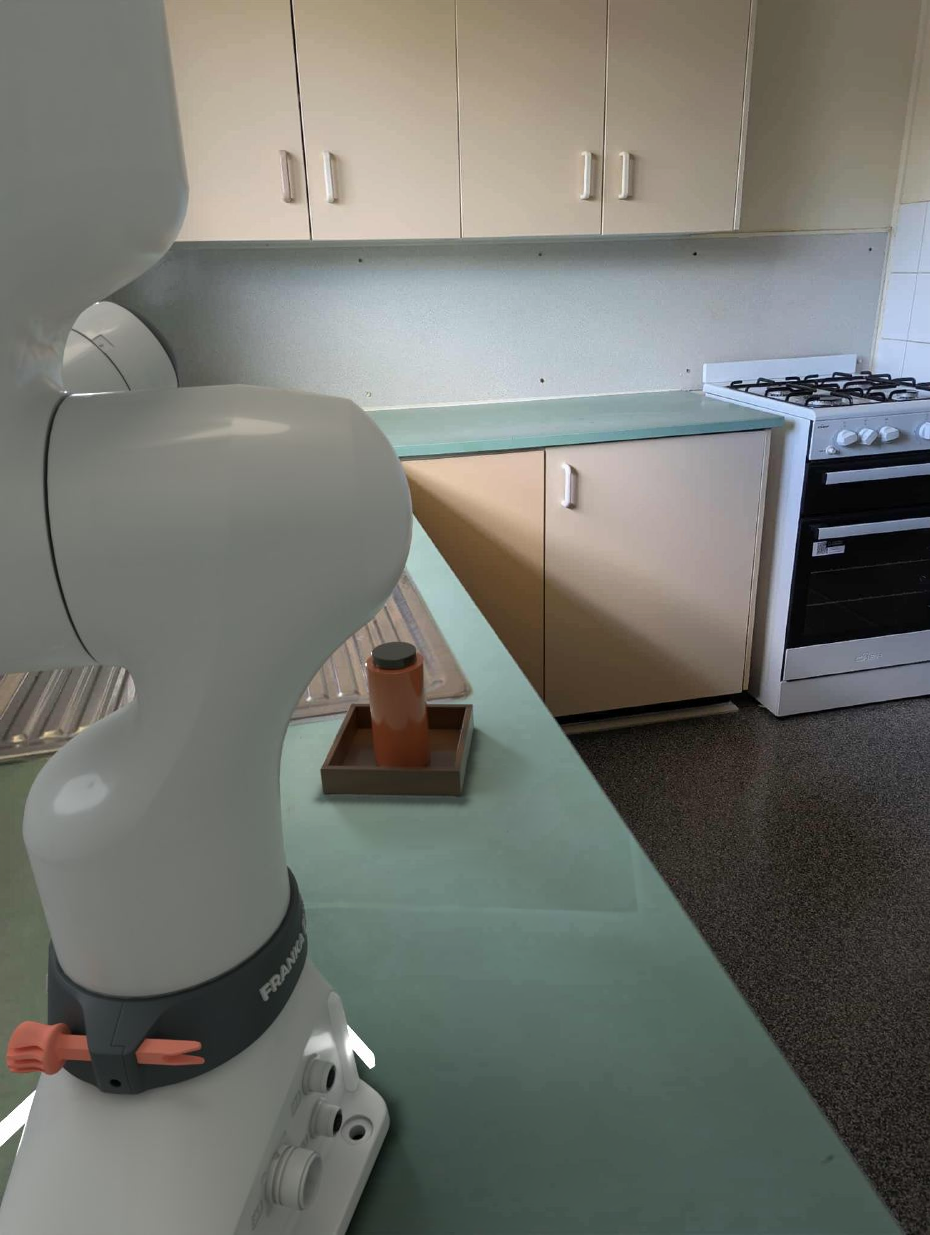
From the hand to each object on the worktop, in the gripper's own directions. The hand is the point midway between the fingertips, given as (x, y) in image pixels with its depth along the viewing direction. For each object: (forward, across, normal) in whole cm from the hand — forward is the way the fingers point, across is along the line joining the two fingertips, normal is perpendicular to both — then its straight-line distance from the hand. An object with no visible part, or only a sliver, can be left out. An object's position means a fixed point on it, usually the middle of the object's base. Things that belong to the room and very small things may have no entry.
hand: (278, 607), depth 78 cm
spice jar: (+18, 0, +3) cm, 18 cm away
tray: (+18, 0, +4) cm, 19 cm away
